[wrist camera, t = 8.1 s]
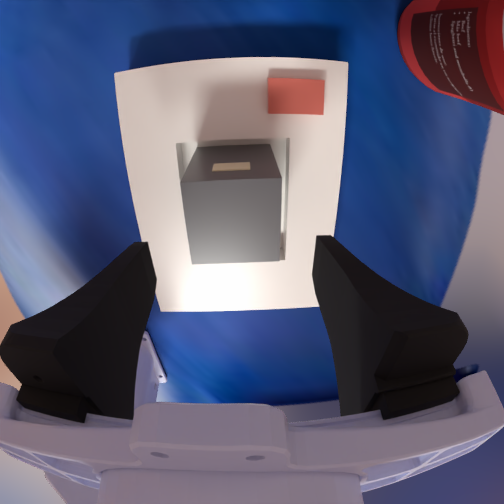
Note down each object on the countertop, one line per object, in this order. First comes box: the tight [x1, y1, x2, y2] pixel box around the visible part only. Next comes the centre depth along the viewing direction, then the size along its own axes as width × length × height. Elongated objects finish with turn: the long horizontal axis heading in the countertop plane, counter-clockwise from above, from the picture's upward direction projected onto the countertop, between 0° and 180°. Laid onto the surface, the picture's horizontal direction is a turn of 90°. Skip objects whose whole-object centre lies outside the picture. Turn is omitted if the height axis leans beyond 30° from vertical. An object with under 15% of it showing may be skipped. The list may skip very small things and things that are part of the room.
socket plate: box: [114, 57, 348, 312], centre depth 20 cm, size 18×13×3 cm
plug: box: [180, 144, 282, 264], centre depth 18 cm, size 7×4×6 cm
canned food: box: [397, 0, 504, 115], centre depth 10 cm, size 8×8×11 cm
